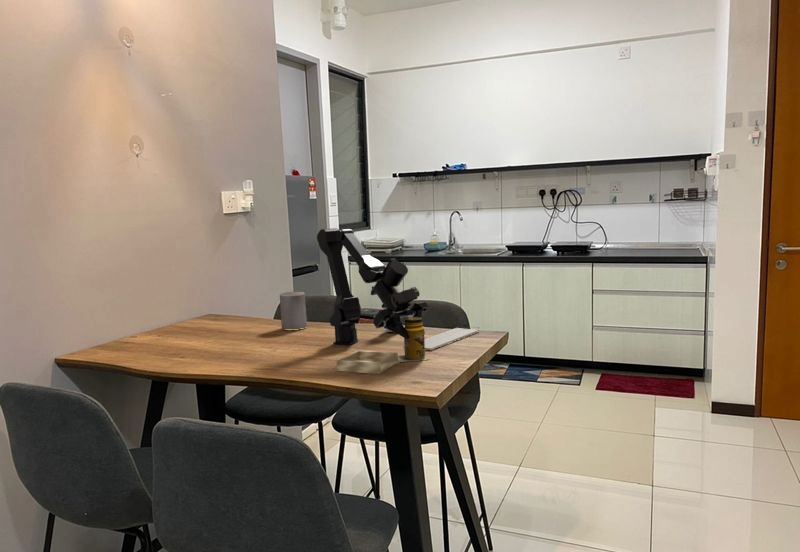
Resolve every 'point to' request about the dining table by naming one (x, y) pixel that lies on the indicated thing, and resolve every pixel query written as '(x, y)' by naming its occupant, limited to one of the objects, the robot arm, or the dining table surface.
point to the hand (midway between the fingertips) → (416, 336)
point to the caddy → (367, 361)
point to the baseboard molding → (447, 337)
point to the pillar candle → (293, 310)
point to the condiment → (414, 341)
